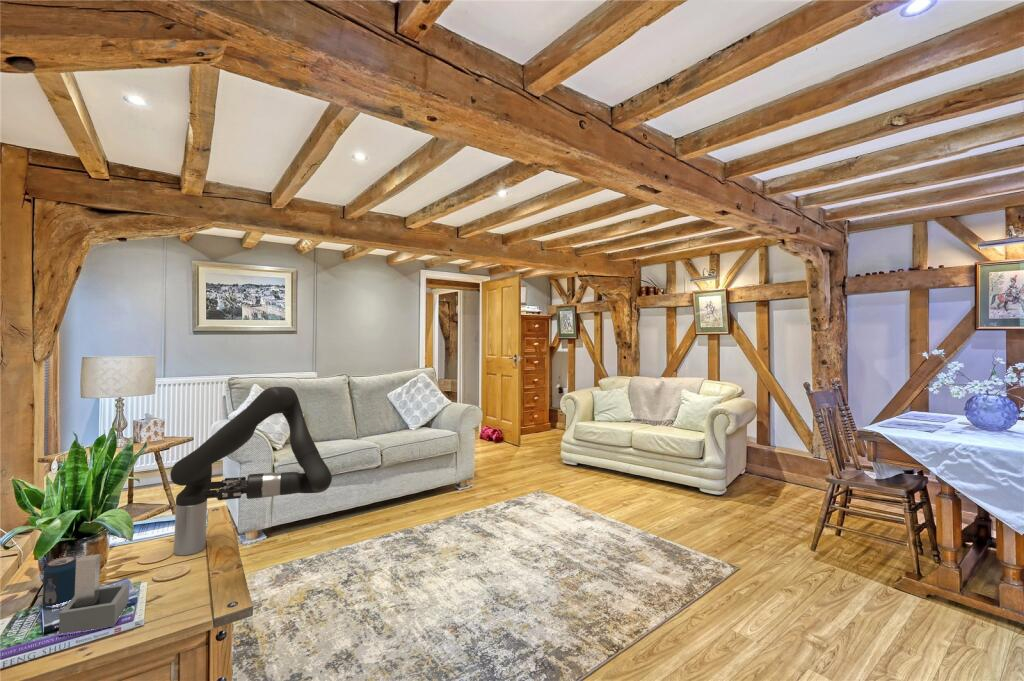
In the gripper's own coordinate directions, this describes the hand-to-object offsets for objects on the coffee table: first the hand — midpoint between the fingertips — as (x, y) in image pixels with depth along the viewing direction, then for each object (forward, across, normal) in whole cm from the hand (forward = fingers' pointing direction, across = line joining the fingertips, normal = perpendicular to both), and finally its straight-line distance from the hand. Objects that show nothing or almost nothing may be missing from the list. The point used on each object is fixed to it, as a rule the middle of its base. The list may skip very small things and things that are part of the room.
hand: (204, 490), depth 139 cm
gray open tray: (+22, +8, +30) cm, 38 cm away
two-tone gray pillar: (+24, +8, +29) cm, 39 cm away
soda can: (+34, -5, +30) cm, 46 cm away
